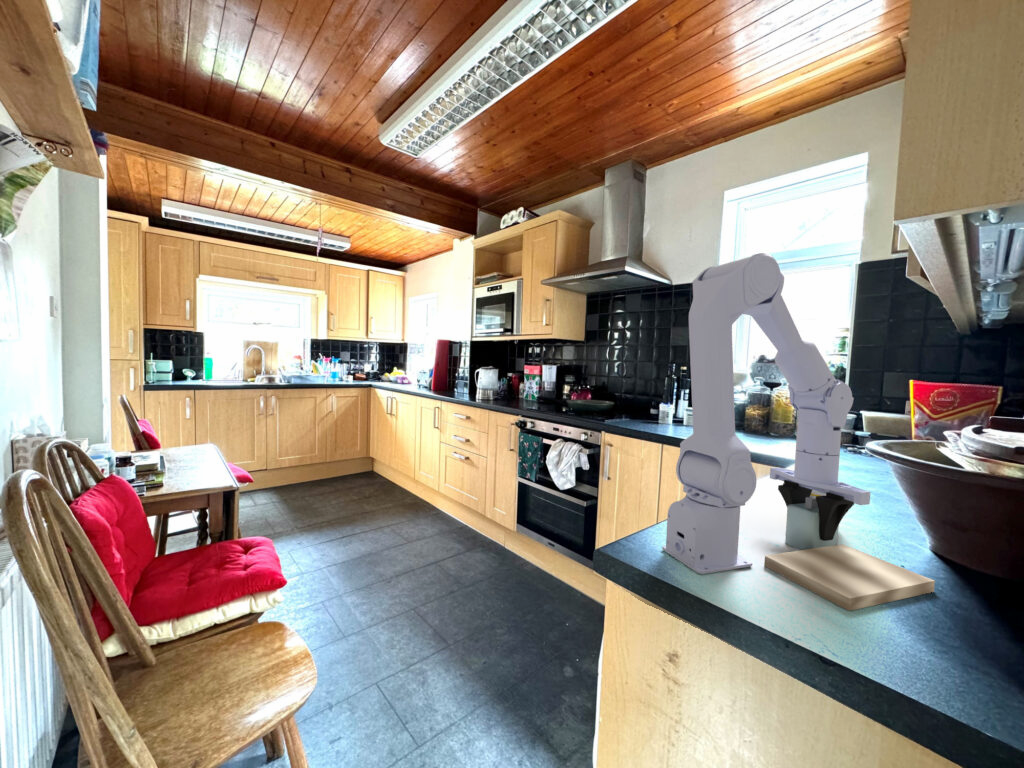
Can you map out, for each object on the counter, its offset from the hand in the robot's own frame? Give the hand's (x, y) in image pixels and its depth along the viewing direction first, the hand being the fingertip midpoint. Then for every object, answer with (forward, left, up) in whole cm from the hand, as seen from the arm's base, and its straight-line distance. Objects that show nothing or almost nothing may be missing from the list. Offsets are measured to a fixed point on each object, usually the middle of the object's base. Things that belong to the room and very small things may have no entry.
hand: (811, 533), depth 66 cm
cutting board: (-7, -9, -2) cm, 12 cm away
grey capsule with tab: (0, 0, -2) cm, 2 cm away
